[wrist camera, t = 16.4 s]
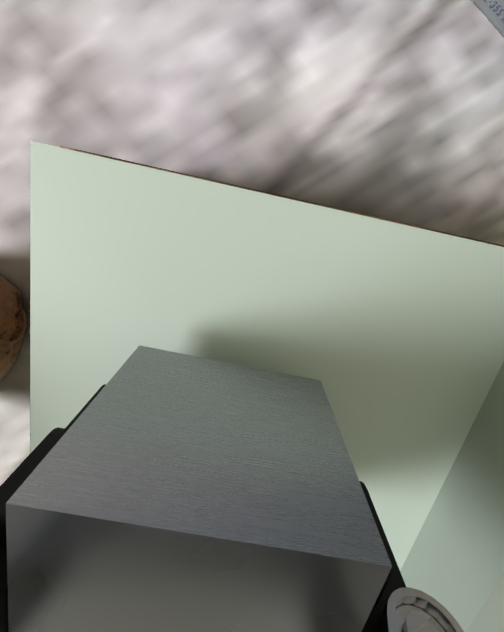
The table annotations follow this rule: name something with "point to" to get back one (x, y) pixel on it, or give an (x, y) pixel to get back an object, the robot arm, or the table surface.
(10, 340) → the block
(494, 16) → the soda pack
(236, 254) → the lid
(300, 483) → the cube
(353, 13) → the table surface
